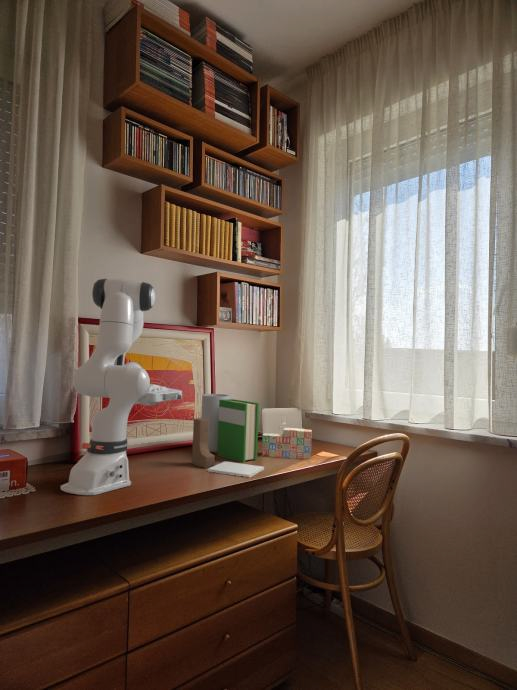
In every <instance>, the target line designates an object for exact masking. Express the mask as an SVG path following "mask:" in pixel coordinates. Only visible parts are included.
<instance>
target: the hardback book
mask: <svg viewBox="0 0 517 690" xmlns="http://www.w3.org/2000/svg"><path fill="white" fill-rule="evenodd" d="M259 406H260V403H259V402H253V401H246V400H240V399H236V398H229V399H225V400H219V425H218V451H217V452H216V453H217V456H220V457H223V458H226V459H230V460H234V461H237V462H240V463H242V464H245V463H246V461H248V460H249V461H251V460H252V461H253V462H254V461H255V462H256V461H257V460H258V436H259V435H258V433H259V413H260V412H259V409H260V407H259ZM244 462H245V463H244ZM257 462H258V461H257Z"/></svg>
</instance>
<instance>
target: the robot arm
mask: <svg viewBox="0 0 517 690" xmlns="http://www.w3.org/2000/svg"><path fill="white" fill-rule="evenodd" d="M91 298H92V300H93V303H94V304H95V305H96V306H97V307H98V308H100V309H101V312H100V317H99V326H98V327H99V328H98V333H97V340H96V341H97V342H96V345H95V348H94V350H93V352H92V354H91V356H90V357H89V358H88V359H87V360H86V362H84V363H83V364H82V365H80V366H79V367H78V368H77V369H76V370H75V371H74V374H73V376H72V385H73V389H74V390H75V391H76V393H77V394H80V395H82V396H86V397H90V398H109V402H108V405H107V406H106V407H103V408H102V409H100V410H97V411H96V413H95V414H94V416H93V417H92V421H91V422H92V425H91V439H90V440H89V442H82V444H81V449H83V450H86V453H85V454H84V455H83V456H82V457H81V458H80V459H79V460H78V461H77V463H76V464H75V465H73V467H71V470H70V473H69V477H68V482H66V483H64V484H62V485H60V491H63V492H65V493H68V494H75V495H79V496H96V495H100V494H103V493H107V492H110V491H114V490H118V489H121V488H125V487H129V486H131V485H132V481H131V480H130V475H129V474H130V473H129V472H130V471H129V458H128V456H127V450H128V446H129V445H128V444H129V443H128V437H127V430H128V429H127V427H128V419H129V416H130V412H131V410H132V408H133V407H134V405H138V404H140V405H142V406H150V407H151V406H153V407H154V406H157V405H159V404H160V403H163V402H171V401H176V400H177V401H178V400H183V391H182V390H180V389H175V388H169V387H166V386H163V385H158V384H154V383H151V379H150V375H149V373H148V372H147V370H145V369H144V367H143V366H142V365H141V364H140V363H138V362H136V361H132V360H131V361H129V362H127V363H125V357H126V354H127V353H128V352H129V350H130V349H131V347H132V345H133V344H134V343H135V342H136V340H138V339H139V338H140V336H141V335H142V333H143V329H144V325H145V324H144V322H145V321H144V312H147V311H149V310H151V309H152V308H153V306H154V304H155V301H156V293H155V290H154V287H153V285H152V284H151V283H148V282H146V281H145V282H144V281H142V282H140V281H136V280H135V281H134V280H126V279H122V278H121V279H120V278H119V279H113V278H112V279H108V278H100V279H97V280H96V281H95V282H94V283H93V287H92V291H91Z"/></svg>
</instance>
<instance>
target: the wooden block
mask: <svg viewBox="0 0 517 690" xmlns="http://www.w3.org/2000/svg"><path fill="white" fill-rule="evenodd" d="M192 429H193V431H192V433H193V434H192V452H191V453H192V454H191V455H192V456H191V464H192V465H194V466H197V467H200V468H203V469H209V468H211V467H213V466H215V460H216V459H215V457H216V456H215V455H214V454H212V452H210V451H209V449H208V430H209V420H208V419H204V418H200V417H199V418H194V419H193V427H192Z"/></svg>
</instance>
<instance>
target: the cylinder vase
mask: <svg viewBox="0 0 517 690" xmlns="http://www.w3.org/2000/svg"><path fill="white" fill-rule="evenodd" d="M225 399H230V395H229V394H224V393H223V394H222V393H205V394H202V395H201V416H200V417H201V418H204V419H208V420H209V430H208V449H209V451H210V453H217V451H218V425H219V400H225Z"/></svg>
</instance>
